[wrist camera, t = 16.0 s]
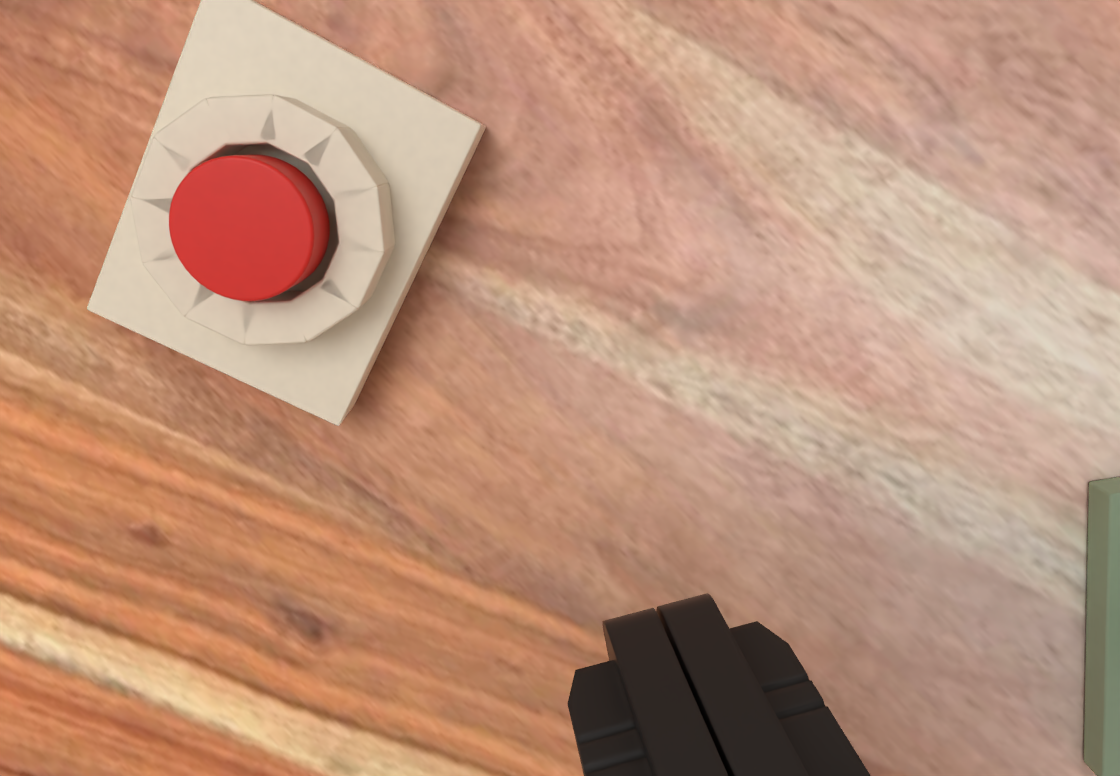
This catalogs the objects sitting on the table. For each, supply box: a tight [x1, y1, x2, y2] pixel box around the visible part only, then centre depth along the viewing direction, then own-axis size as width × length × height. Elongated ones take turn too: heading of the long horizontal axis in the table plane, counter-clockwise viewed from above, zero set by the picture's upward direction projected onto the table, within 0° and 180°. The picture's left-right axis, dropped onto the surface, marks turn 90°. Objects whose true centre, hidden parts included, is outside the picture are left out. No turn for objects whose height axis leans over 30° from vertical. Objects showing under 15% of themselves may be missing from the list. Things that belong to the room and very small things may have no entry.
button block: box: [87, 0, 486, 426], centre depth 24 cm, size 10×8×4 cm
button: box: [169, 155, 330, 301], centre depth 21 cm, size 4×4×2 cm
